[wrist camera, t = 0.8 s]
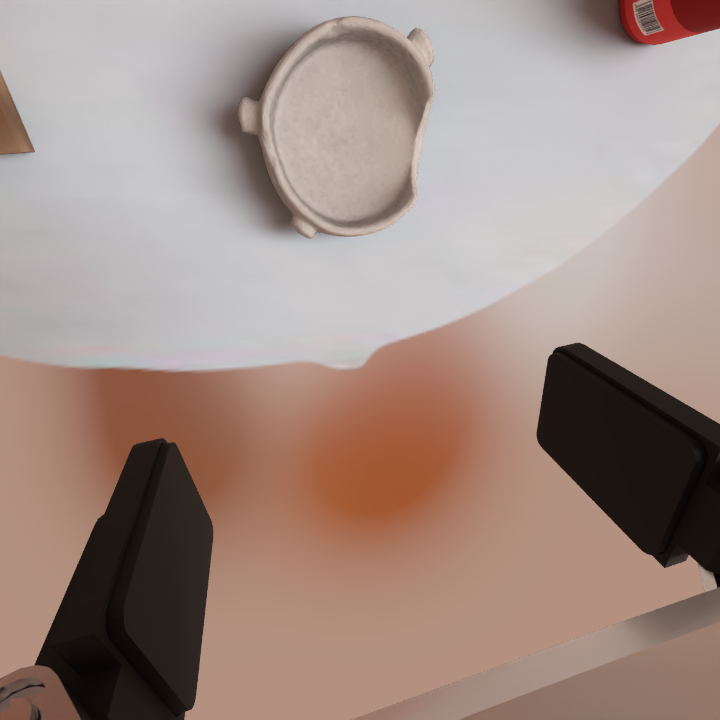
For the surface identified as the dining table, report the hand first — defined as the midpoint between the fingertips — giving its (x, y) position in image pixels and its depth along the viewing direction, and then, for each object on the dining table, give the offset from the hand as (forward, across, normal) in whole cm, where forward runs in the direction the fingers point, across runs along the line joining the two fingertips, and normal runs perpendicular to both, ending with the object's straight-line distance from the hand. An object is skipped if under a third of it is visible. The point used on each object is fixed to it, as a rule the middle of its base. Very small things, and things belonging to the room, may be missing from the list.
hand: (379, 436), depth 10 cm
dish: (+29, -5, -6) cm, 30 cm away
